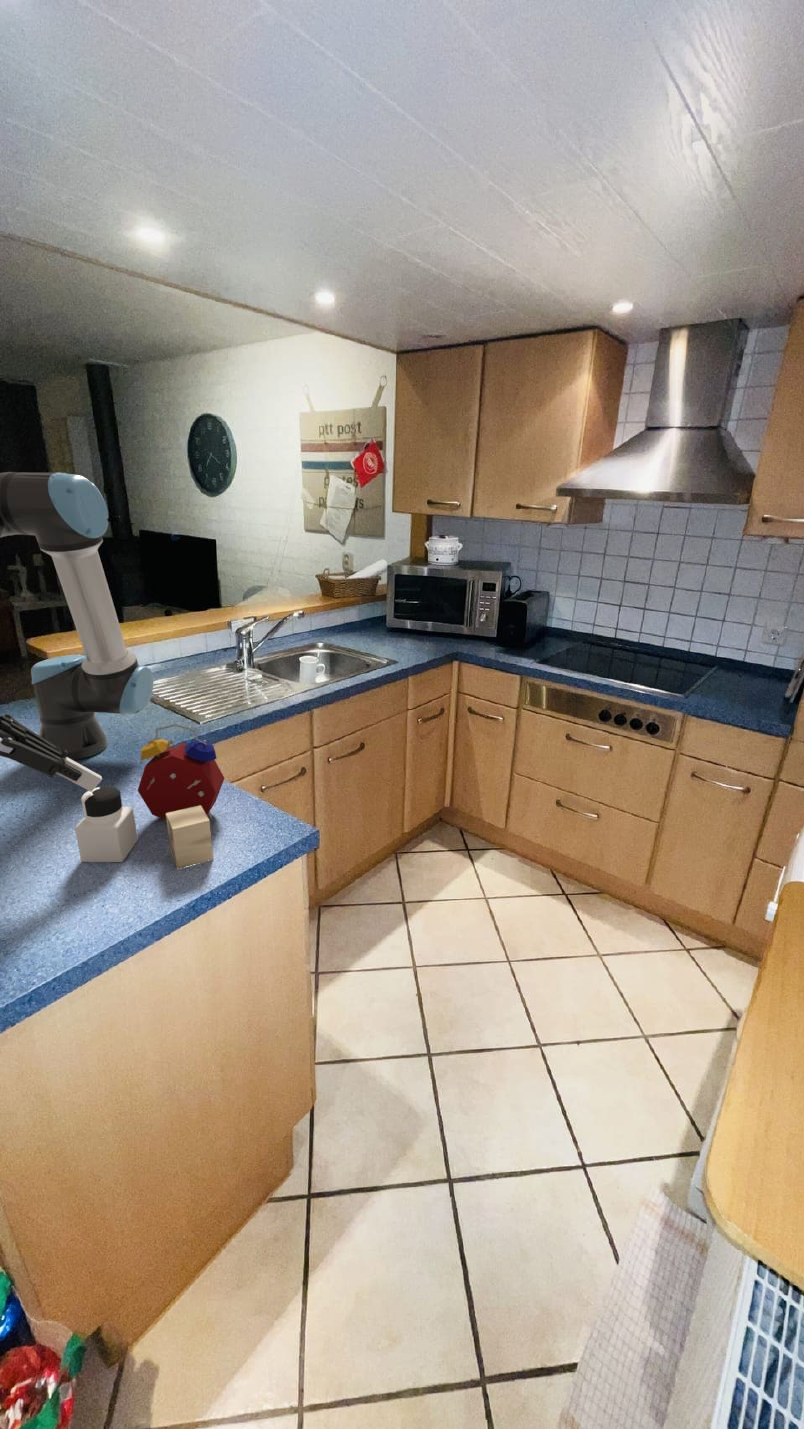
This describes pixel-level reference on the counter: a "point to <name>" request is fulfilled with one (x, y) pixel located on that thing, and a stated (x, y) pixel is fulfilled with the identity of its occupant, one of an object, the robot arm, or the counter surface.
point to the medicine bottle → (105, 827)
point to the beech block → (189, 836)
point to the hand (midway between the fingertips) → (96, 783)
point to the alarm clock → (179, 775)
